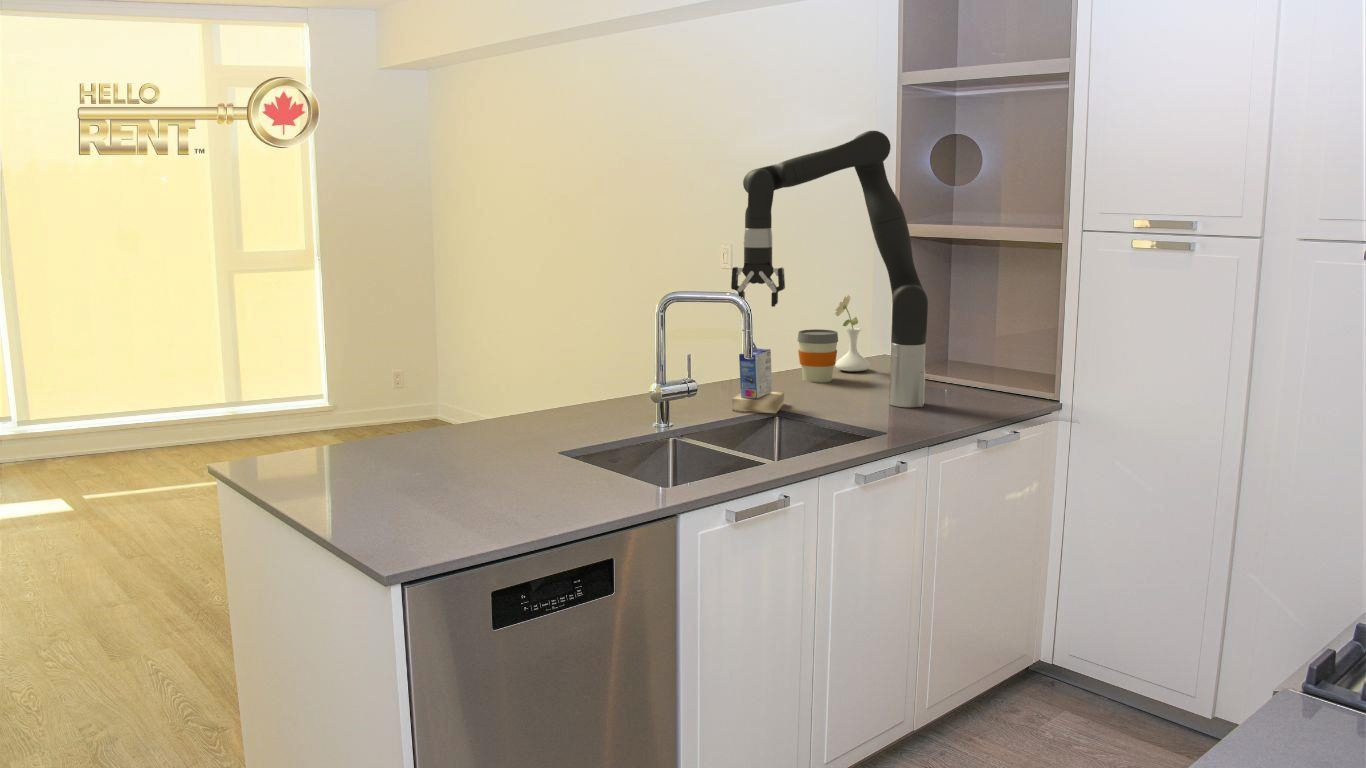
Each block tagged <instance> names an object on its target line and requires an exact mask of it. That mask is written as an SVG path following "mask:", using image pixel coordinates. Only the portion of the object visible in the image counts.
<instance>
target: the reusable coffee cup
mask: <svg viewBox="0 0 1366 768" xmlns="http://www.w3.org/2000/svg"><path fill="white" fill-rule="evenodd" d="M797 334H798V335H797V342H798V347H799V349H798V351H797V352H798V359H799V360H798V361H799V364H800V365H801V366H800V367H801V374H802V381H804V382H808V383H828V381H829V382H831V381H832V380H833V372H834V368H835V364H836V362H837V353H838V349H837V345H838V342H839V335H838V331H836V330H833V329H832V330H831V329H817V328H816V329H803V330H799V331H798V332H797Z"/></svg>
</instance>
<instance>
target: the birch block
mask: <svg viewBox="0 0 1366 768" xmlns="http://www.w3.org/2000/svg"><path fill="white" fill-rule="evenodd" d="M783 404H784V405H785V392H784V391H783V392H781V391H772V392H771V393H769V394H766V395H764V396H762V397H759V398H757V399H753V398H743V397H741V391H739V393H737V394H736V395H735V396H734V397H733V398H731V411H732V410H734V411H733V412H742V411H754V412H753V413H765V414H777V413H778V411H779V410H780V409H781V408H782V407H783V406H784V405H783ZM782 405H783V406H782ZM781 406H782V407H781ZM780 407H781V408H780ZM779 408H780V409H779ZM778 409H779V410H778Z"/></svg>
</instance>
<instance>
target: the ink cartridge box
mask: <svg viewBox="0 0 1366 768" xmlns="http://www.w3.org/2000/svg"><path fill="white" fill-rule="evenodd" d="M752 342H753V345H752V346H753V347H752V348H753V355H752V357H751V358H749V359H745V358H744V354H743V353H744V352H742V353H740V354H739V356H738V357H739V358H738V359H739V360H738V361H739V382H740V383H739V384H740V392H741V397H743V398H753V399H757V398H759V397H762V396H764V395H766V394H769V393H771V392H773V383H772V382H773V381H772V380H773V378H772V375H773V374H772V350H771V349H769V348H757V346H756V344H755V342H754V341H752Z"/></svg>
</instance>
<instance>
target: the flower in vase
mask: <svg viewBox="0 0 1366 768" xmlns="http://www.w3.org/2000/svg"><path fill="white" fill-rule="evenodd" d="M850 301H851V296H850V295H849V294H848V295H845V296H844V297H843V299H842V301H840V302H839V303H838V306H837V308H835V311H836V312H835V313H834V315H836V317H838V316H840V315H841V314H842V313H844V312H845V310H846V312H847V314H848V318H849V319H846V320H845V321H844V322H843V324H842V326H843V327H846V328H845V331H846V332H847V333H848V339H849V348H848V351H847V352H846V353H845V354H844V355H843V356H841V357H840V358H839V359H838V360H836V362H835V365H834V367H835V368H836V369H837V370H840V371H844V372H863V371H866V370H869V369H870V368H871V364H870V362H869V361H868V360H867V359H866V358H865V357H863V355H861V354H860V352H859V351H858V349H857V347H858V346H857V344H858V336H859V334H860V332H861V330H862V328H859V327H854V326H856V325H857V324H859V320H858V318H857V317H858V316H855V317H853V318H852V319H851V314H850V311H849V310H848V306H849V303H850ZM849 324H851V325H850V326H851V327H847V326H848V325H849Z"/></svg>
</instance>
